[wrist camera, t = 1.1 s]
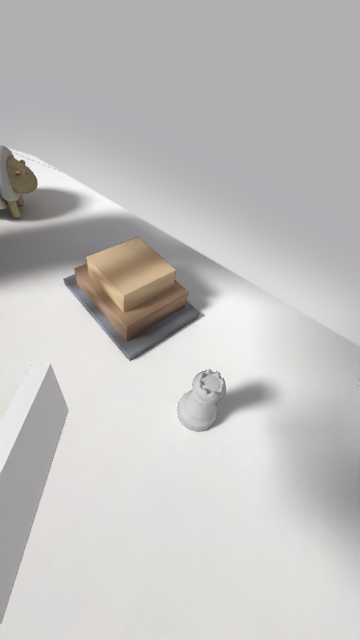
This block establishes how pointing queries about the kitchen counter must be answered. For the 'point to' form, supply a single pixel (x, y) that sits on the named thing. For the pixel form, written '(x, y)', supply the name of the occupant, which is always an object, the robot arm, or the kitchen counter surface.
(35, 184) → the toy sheep
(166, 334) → the plinth
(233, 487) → the kitchen counter surface
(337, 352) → the kitchen counter surface
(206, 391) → the rook chess piece
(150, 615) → the kitchen counter surface
